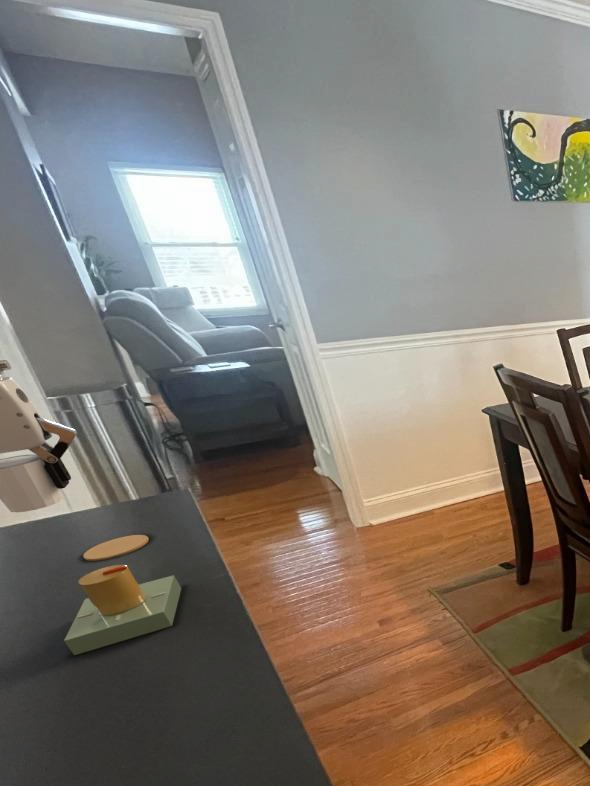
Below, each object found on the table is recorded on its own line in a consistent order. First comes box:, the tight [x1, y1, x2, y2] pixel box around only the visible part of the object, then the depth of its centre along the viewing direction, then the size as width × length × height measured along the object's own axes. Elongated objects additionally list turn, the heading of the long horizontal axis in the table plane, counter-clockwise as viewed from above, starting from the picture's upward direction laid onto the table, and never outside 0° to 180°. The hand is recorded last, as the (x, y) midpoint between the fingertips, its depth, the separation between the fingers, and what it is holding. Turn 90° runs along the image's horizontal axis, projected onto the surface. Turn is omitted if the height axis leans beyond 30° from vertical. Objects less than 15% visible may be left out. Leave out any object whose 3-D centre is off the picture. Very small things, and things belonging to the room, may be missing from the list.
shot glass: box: [0, 453, 64, 513], centre depth 89 cm, size 7×7×7 cm
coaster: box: [82, 534, 149, 562], centre depth 105 cm, size 8×8×1 cm
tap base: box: [63, 574, 182, 656], centre depth 85 cm, size 10×12×3 cm
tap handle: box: [77, 564, 146, 615], centre depth 83 cm, size 5×5×6 cm
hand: (28, 491), depth 90 cm, fingers closed on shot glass, 6 cm apart
